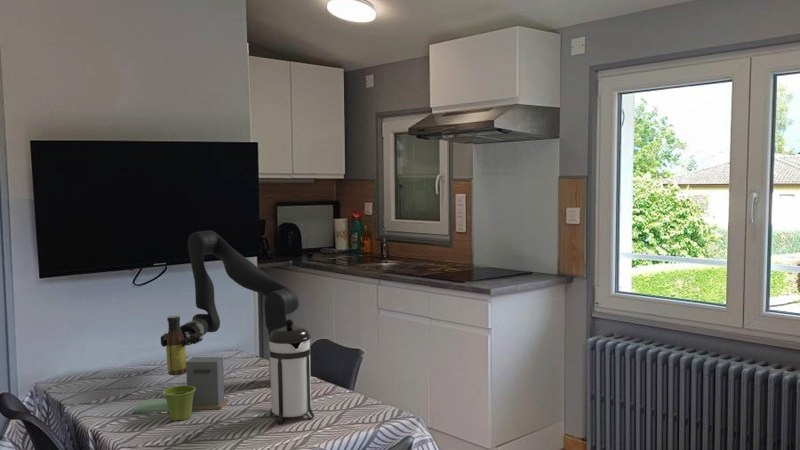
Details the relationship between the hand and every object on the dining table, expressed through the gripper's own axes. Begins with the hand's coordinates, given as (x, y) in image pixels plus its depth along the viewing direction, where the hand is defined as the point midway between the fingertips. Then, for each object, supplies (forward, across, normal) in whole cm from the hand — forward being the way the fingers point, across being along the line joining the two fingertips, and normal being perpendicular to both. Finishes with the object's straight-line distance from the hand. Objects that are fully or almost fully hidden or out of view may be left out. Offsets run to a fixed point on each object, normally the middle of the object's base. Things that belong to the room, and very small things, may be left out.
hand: (172, 343), depth 229 cm
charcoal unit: (+12, +15, +18) cm, 26 cm away
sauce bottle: (-2, 0, +11) cm, 11 cm away
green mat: (+14, 0, +17) cm, 22 cm away
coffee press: (+21, +44, +18) cm, 52 cm away
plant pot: (+23, +11, +18) cm, 31 cm away
